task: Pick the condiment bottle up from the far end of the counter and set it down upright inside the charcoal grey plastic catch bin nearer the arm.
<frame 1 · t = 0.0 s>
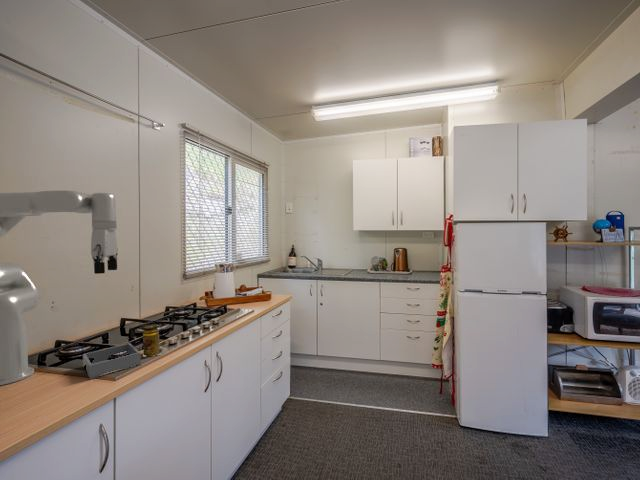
hand: (106, 271, 117), 37 cm above the countertop, tool pointing down, fingers open, 9 cm apart
condiment: (152, 353, 132), on the countertop
catch bin: (112, 365, 120), on the countertop
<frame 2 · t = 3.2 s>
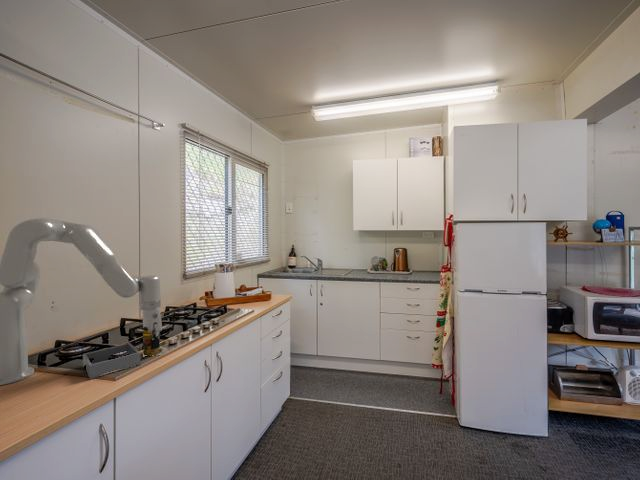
hand: (152, 345, 132), 3 cm above the countertop, tool pointing down, fingers open, 7 cm apart
condiment: (152, 353, 132), on the countertop, touching gripper
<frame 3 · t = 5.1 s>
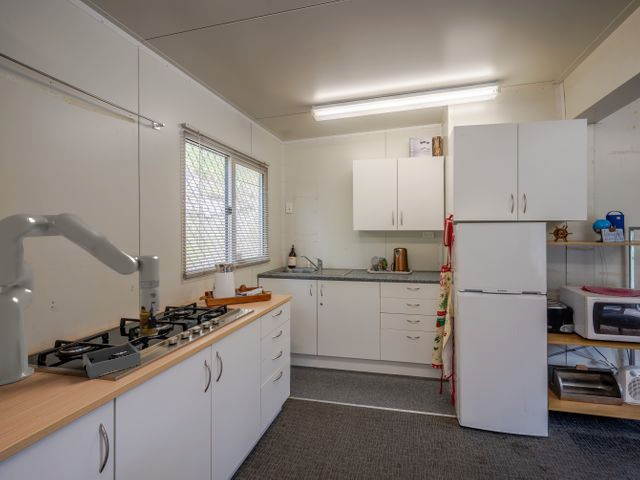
hand: (149, 326, 132), 12 cm above the countertop, tool pointing down, fingers closed on condiment, 6 cm apart
condiment: (148, 333, 132), point 8 cm above the countertop, touching gripper
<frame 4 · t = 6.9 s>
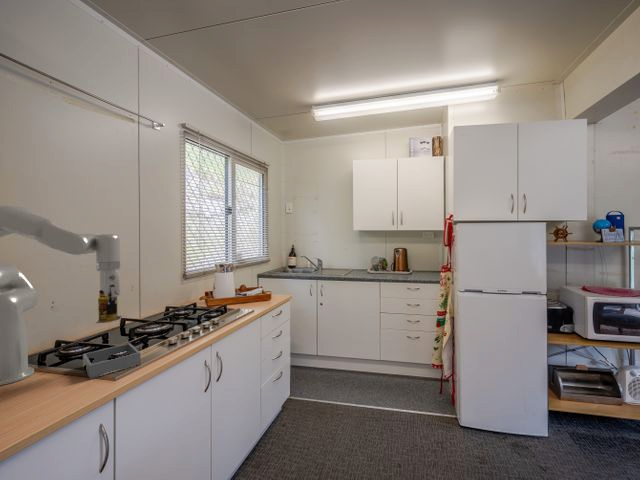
hand: (109, 312, 120), 21 cm above the countertop, tool pointing down, fingers closed on condiment, 6 cm apart
condiment: (109, 320, 120), point 18 cm above the countertop, touching gripper
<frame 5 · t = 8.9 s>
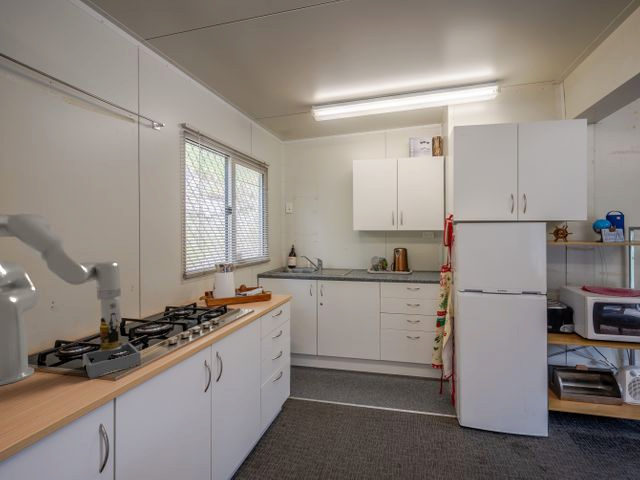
hand: (111, 339, 120), 10 cm above the countertop, tool pointing down, fingers closed on condiment, 6 cm apart
condiment: (111, 347, 121), point 7 cm above the countertop, touching gripper
when the fingers open (5 cm above the countertop, at t = 10.5 s): condiment drops 1 cm, resting on catch bin.
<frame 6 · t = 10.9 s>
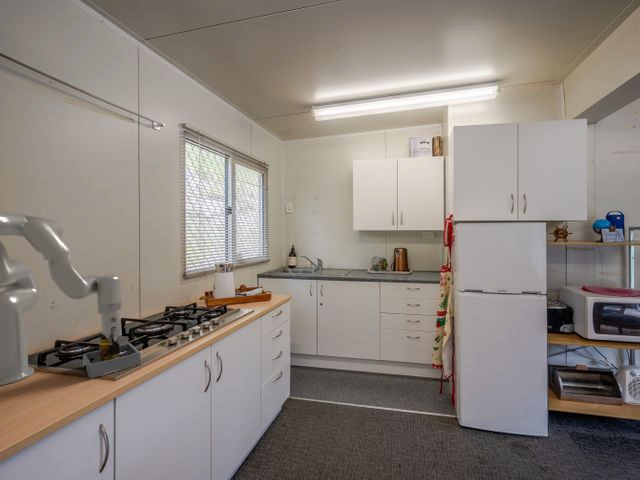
hand: (111, 351, 120), 6 cm above the countertop, tool pointing down, fingers open, 9 cm apart
condiment: (110, 364, 121), resting on catch bin
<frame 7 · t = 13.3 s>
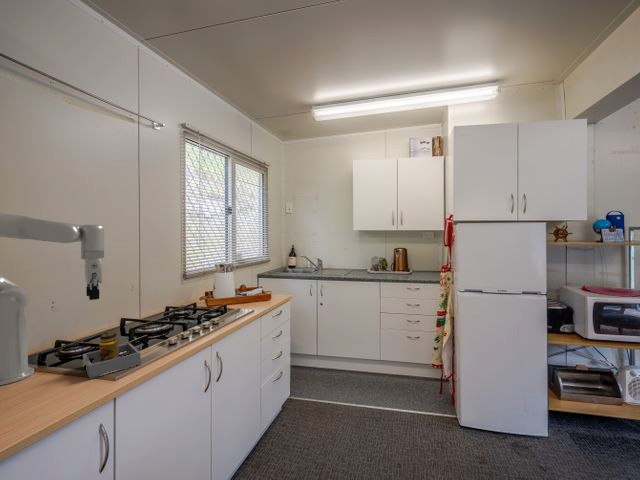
hand: (92, 297, 125), 26 cm above the countertop, tool pointing down, fingers open, 9 cm apart
nothing on the countertop moved.
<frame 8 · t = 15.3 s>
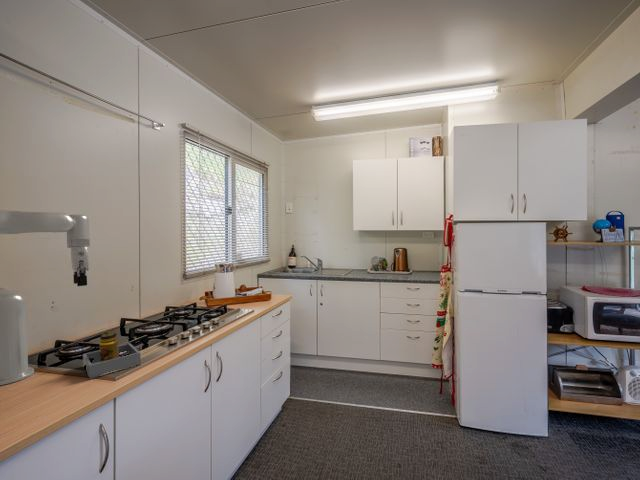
hand: (80, 284, 130), 30 cm above the countertop, tool pointing down, fingers open, 9 cm apart
nothing on the countertop moved.
at the end: condiment inside the target area on the catch bin (0.9 cm from its centre), point 0.4 cm above the catch bin's base; condiment tilted 0°; the gripper is holding nothing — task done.
